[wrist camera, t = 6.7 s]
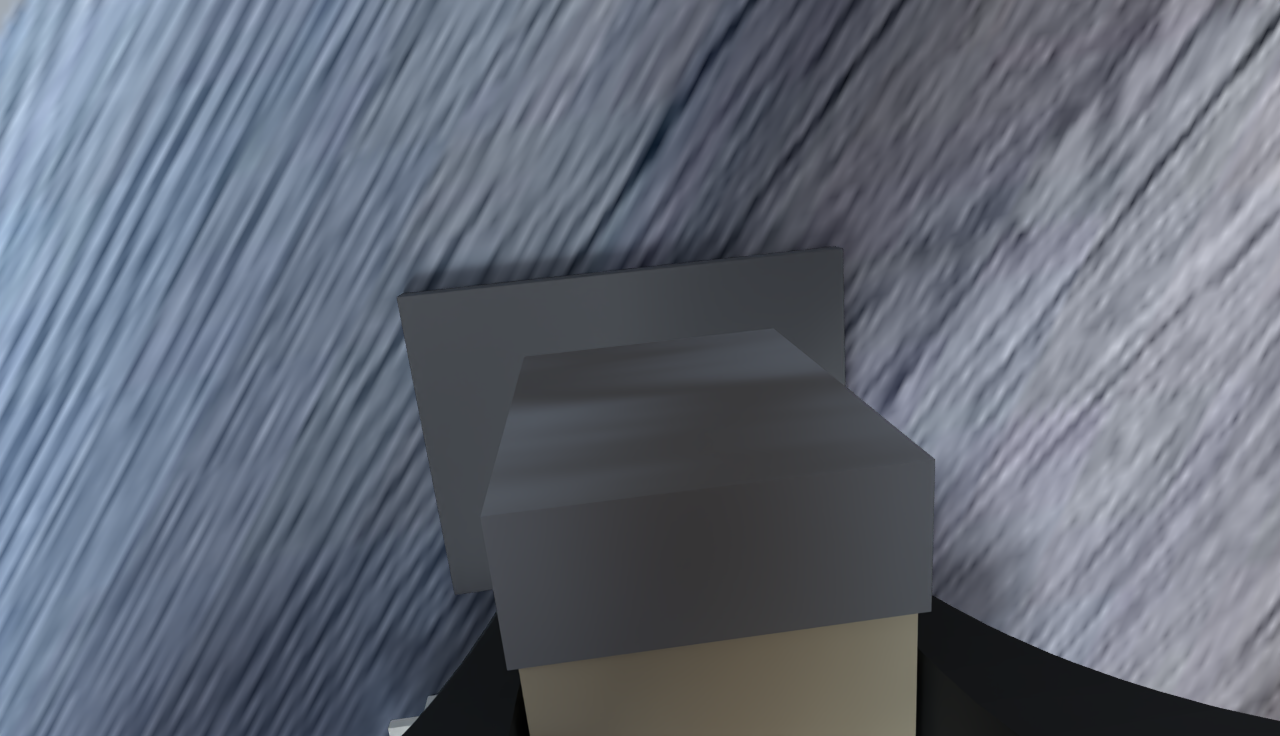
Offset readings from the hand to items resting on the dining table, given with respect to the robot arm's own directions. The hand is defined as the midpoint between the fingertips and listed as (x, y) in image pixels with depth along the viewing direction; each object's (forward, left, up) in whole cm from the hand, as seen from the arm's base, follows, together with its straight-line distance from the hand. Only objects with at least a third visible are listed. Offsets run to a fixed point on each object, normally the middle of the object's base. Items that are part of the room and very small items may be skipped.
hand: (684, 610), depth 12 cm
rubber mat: (0, 0, -9) cm, 9 cm away
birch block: (0, 0, -2) cm, 2 cm away
